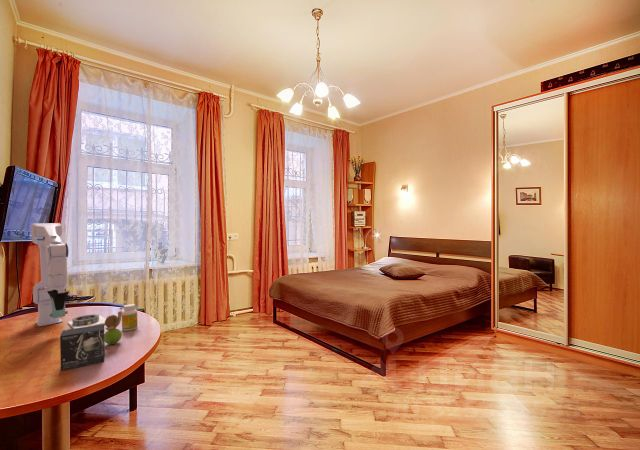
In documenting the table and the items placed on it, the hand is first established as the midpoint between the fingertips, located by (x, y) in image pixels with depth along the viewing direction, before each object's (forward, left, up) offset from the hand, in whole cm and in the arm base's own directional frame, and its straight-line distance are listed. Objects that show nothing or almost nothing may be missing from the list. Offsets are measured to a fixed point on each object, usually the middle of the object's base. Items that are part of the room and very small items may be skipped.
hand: (58, 308), depth 122 cm
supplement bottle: (+16, +20, -10) cm, 28 cm away
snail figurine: (+29, +11, -10) cm, 33 cm away
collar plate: (-6, +11, -10) cm, 16 cm away
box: (+40, 0, -10) cm, 41 cm away
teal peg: (0, 0, -3) cm, 3 cm away
